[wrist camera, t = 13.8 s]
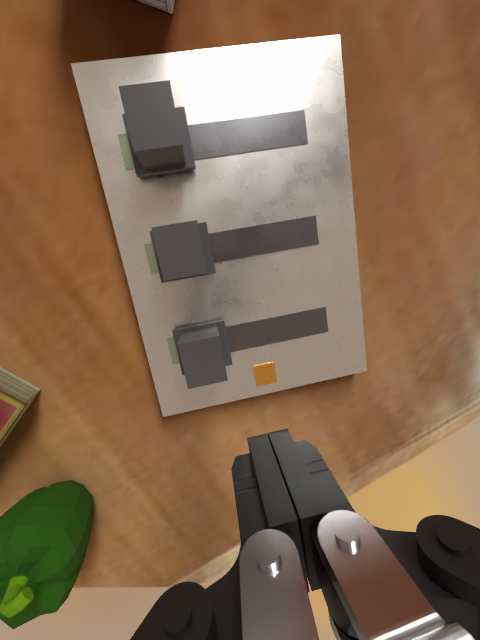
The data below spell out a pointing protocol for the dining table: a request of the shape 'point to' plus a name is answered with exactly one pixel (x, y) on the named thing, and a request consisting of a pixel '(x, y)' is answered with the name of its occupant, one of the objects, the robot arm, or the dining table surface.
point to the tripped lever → (203, 353)
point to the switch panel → (241, 213)
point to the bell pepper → (42, 550)
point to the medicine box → (161, 4)
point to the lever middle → (182, 250)
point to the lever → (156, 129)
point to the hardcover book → (13, 400)
